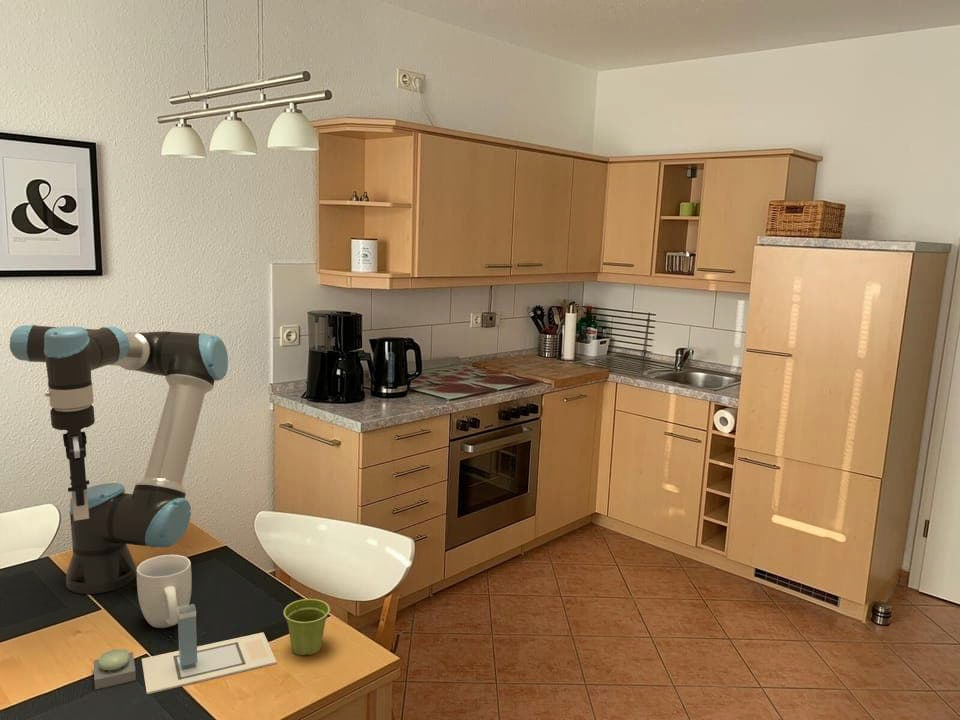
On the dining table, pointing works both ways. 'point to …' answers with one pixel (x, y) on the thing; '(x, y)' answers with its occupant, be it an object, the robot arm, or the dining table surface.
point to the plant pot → (306, 625)
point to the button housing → (114, 674)
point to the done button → (113, 659)
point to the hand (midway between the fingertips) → (81, 518)
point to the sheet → (208, 663)
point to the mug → (163, 588)
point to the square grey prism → (187, 636)
